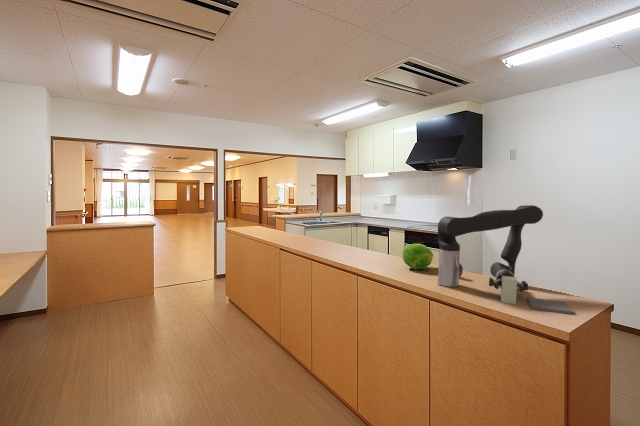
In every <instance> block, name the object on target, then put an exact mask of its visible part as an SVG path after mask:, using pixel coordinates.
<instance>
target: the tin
mask: <svg viewBox="0 0 640 426" xmlns="http://www.w3.org/2000/svg"><path fill="white" fill-rule="evenodd" d="M463 270H464V269H463V265H462V264H461V263H460V262H459V278H460V277H461V276H462V275H463Z"/></svg>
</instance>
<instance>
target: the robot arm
mask: <svg viewBox="0 0 640 426" xmlns="http://www.w3.org/2000/svg"><path fill="white" fill-rule="evenodd" d="M543 216H544V211H543V210H542V209H541V208H540V206H539V207H538V206H537V205H532V204H531V205H529V204H528V205H519V206H517V207H516V208H515V209H496V210H488V211H487V210H486V211H484V212H480V213H477V214H476V215H473V216H469V217H468V216H467V217H454V216H444V217H441V219H440V220H439V221H438V224H437V244H438V245H439V252H438V253H439V257H438V267H437V268H438V270H437V272H438V273H437V275H438V277H437V286H438V285H439V286H443V287H448V288H449V287H450V288H457V287H459V285H460V277H459V263H460V257H461V256H460V254H461V252H460V251H461V245H460V243H458V241H457V239H456V237H459V236H463V235H466V234H467V235H468V234H471V233H474V232H486V231H493V230H499V229H504V228H508V227H510V229H509V232H508V235H507V239H506V241H505V245H504V246H503V249H502V251H501V253H500V258H501V259H502V260H504V261H506V263H507V265H506V264H504V263H501V262H497V261H496V262H494V263H493V264H491V266H490V275H492V276H493V277H494V278H495V279H494V278H493V277H489V279H488V280H489V282H488V286H489V287H493V288H494V289H496V290H499V289H501V283H502V276H511V277H515V272H516V271H515V270H516V262H517V259H518V258H519V254H520V252H521V249H522V231H523V228H524V226H525V225H527V224H528V225H529V224H530V225H534V224H537V223H539V222H540V221H541V220H542V219H543ZM517 290H519V292H520V293H523V292H524V291H529V284H528V282H527V281H525V280H522V281H521V282H520V281H518V280H517Z"/></svg>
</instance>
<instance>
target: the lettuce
mask: <svg viewBox="0 0 640 426" xmlns="http://www.w3.org/2000/svg"><path fill="white" fill-rule="evenodd" d="M433 258H434V254H433V252H432V250H431V249H430V248H429V247H427V245H424V244H421V243H411V244H408V245H406V246H405V247H404V248H403V250H402V259H403V262H404V264H406V265H407V266H408V268H411V269H413V270H422V269H426V268H427V267H429V266H430V265H431V264H432V262H433Z"/></svg>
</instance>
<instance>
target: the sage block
mask: <svg viewBox="0 0 640 426" xmlns="http://www.w3.org/2000/svg"><path fill="white" fill-rule="evenodd" d="M517 281H518V280H517V277H516V276H514V277H511V276H502V283H501V288H500V289H501V290H500V300H501V303H504V304H513V305H516V304H517V290H518V289H517Z"/></svg>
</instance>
